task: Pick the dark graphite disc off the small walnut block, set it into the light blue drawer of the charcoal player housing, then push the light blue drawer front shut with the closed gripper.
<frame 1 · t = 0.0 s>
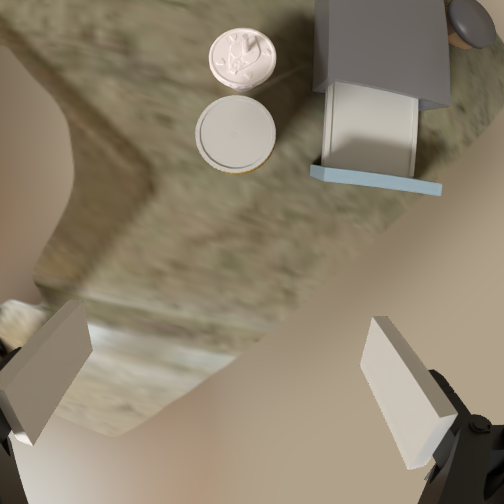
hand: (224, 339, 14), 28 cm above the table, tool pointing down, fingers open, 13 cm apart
smoothie: (243, 78, 35), on the table
disc: (469, 23, 27), point 5 cm above the table, touching block
bottle: (239, 140, 38), on the table
light blue drawer: (380, 110, 33), point 4 cm above the table, slide at 9.0 cm
block: (451, 31, 32), on the table
housing: (369, 39, 33), on the table
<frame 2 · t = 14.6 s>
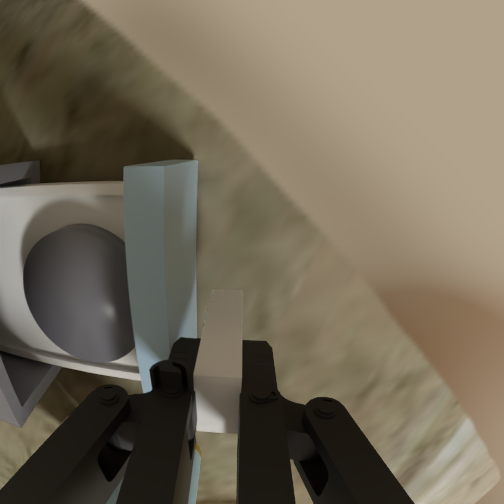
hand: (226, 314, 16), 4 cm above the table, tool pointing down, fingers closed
disc: (89, 290, 17), point 2 cm above the table, touching light blue drawer
bottle: (163, 442, 24), on the table
light blue drawer: (36, 298, 15), point 4 cm above the table, slide at 9.0 cm, touching disc, gripper
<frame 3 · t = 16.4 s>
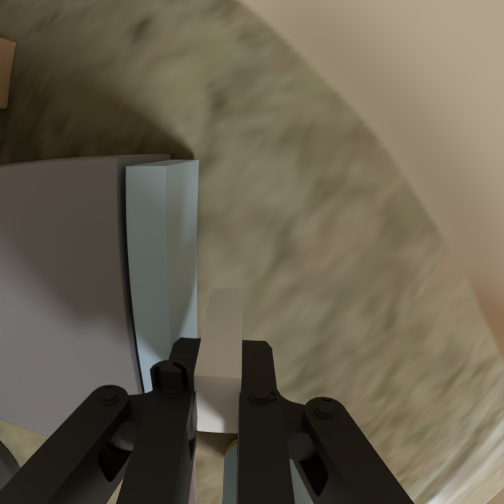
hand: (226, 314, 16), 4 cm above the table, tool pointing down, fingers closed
bottle: (265, 448, 25), on the table
light blue drawer: (37, 297, 15), point 4 cm above the table, slide at 0.0 cm, touching disc, gripper
housing: (49, 270, 19), on the table
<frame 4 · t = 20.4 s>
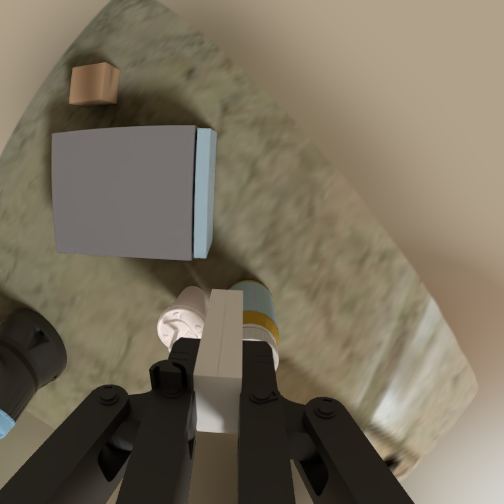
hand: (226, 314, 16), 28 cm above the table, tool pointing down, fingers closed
smoothie: (193, 296, 47), on the table
bottle: (248, 299, 47), on the table
light blue drawer: (139, 189, 38), point 4 cm above the table, slide at 0.0 cm, touching disc
block: (102, 88, 37), on the table
housing: (137, 185, 42), on the table
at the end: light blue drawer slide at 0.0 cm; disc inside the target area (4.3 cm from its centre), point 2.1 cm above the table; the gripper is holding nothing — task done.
